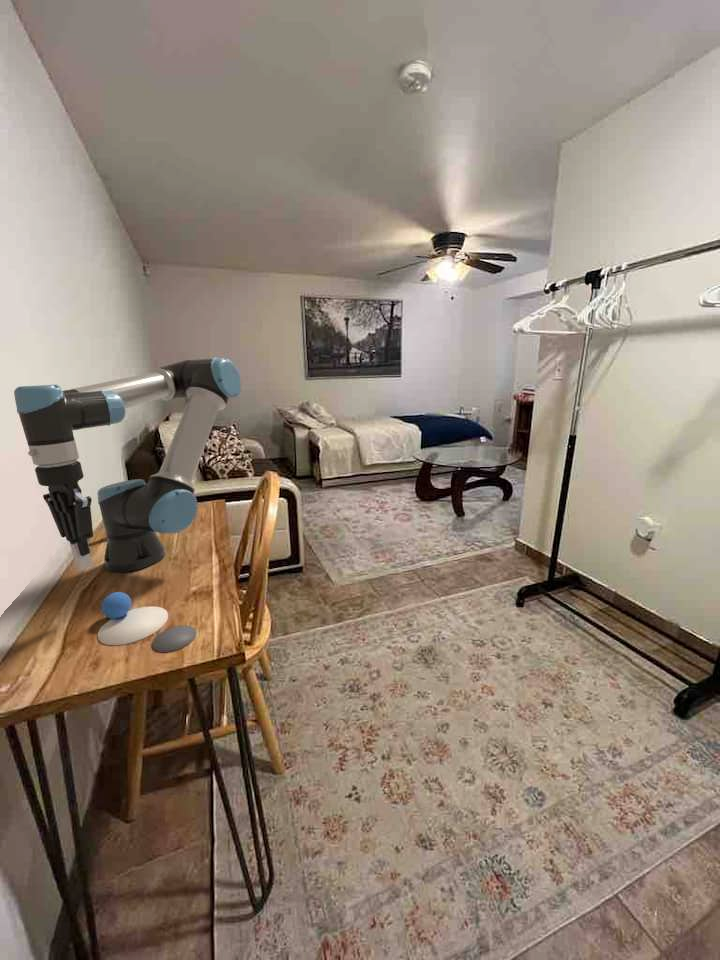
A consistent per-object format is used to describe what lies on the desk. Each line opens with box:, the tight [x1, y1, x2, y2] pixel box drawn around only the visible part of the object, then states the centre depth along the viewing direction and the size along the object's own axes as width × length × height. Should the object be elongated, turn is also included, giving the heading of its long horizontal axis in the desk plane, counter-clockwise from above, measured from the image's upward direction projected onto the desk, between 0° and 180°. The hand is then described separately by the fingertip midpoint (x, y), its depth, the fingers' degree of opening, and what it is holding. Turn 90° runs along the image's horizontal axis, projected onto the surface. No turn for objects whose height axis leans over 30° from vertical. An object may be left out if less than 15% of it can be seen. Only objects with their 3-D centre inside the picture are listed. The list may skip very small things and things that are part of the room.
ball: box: [101, 591, 132, 620], centre depth 85 cm, size 6×6×6 cm
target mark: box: [97, 606, 169, 646], centre depth 82 cm, size 13×13×1 cm
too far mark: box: [151, 624, 197, 653], centre depth 77 cm, size 8×8×1 cm
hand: (85, 567), depth 86 cm, fingers closed
